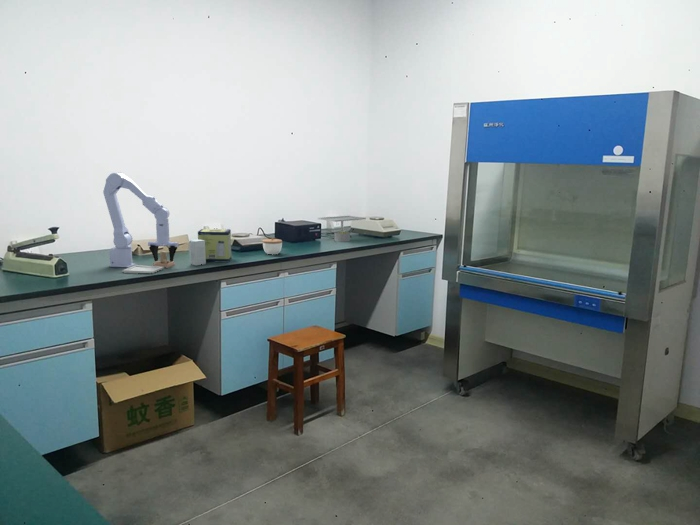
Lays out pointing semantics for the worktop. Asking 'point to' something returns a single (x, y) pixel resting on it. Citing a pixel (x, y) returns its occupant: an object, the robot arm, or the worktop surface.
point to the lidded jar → (272, 246)
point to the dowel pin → (163, 257)
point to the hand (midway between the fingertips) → (163, 261)
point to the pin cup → (164, 264)
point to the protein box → (216, 244)
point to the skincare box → (197, 252)
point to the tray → (142, 269)
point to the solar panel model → (342, 235)
